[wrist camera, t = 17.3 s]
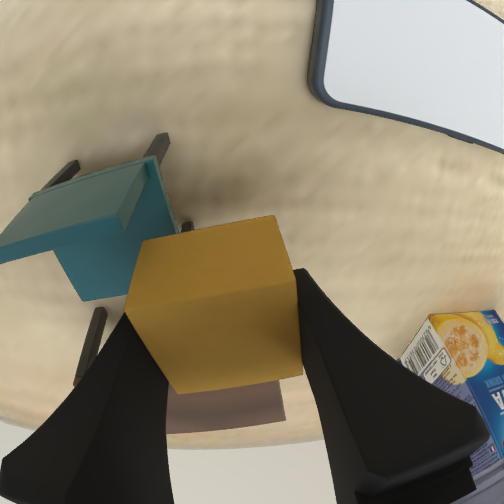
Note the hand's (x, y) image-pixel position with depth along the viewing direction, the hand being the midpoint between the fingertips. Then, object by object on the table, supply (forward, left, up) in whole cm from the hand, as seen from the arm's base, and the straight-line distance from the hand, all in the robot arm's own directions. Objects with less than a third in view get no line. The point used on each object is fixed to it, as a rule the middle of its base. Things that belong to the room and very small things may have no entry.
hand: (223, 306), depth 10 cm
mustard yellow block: (0, 0, -1) cm, 1 cm away
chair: (-1, -5, -8) cm, 10 cm away
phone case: (-7, +14, -9) cm, 17 cm away
